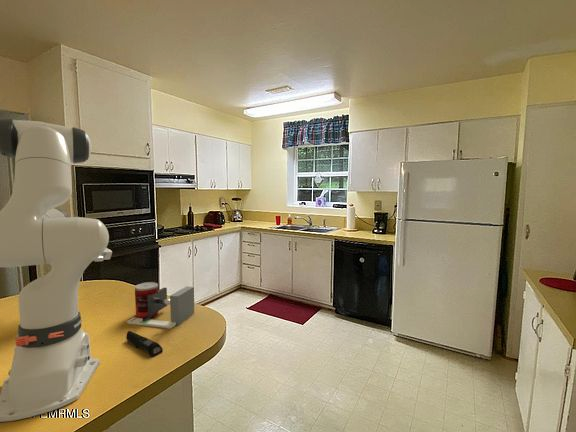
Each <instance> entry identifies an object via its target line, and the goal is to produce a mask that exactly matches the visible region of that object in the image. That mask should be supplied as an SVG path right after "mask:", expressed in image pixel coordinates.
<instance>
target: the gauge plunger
mask: <svg viewBox="0 0 576 432" xmlns="http://www.w3.org/2000/svg"><path fill="white" fill-rule="evenodd" d="M167 291H168V288H167V287H162V288H160V289H158V291H156V292H154V293H152V294H150V295H148V296H147V297H148V316H146V317H145V318H143V321H146V320H148V319H151V318H152V317H151V315H153V314H154V313H156V312H158V313H159V312H160V311H161V310H162V309H164V308H166V307H167V306H168V305H169V306H170V298H169V299H168V293H167Z"/></svg>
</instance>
